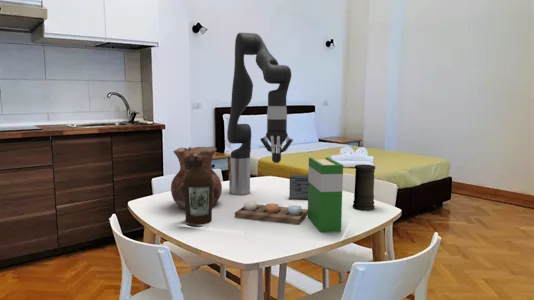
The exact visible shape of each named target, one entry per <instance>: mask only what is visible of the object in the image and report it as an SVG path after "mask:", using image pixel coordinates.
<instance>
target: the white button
mask: <svg viewBox="0 0 534 300" xmlns="http://www.w3.org/2000/svg"><path fill="white" fill-rule="evenodd" d="M243 207H244V210H246V211H255V210H257V202H256V201H253V200H251V201H244V202H243Z"/></svg>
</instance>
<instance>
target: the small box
mask: <svg viewBox="0 0 534 300" xmlns="http://www.w3.org/2000/svg"><path fill="white" fill-rule="evenodd" d="M288 200H295V201H296V200H301V201H308V174H306V175H305V174H290V175H289V198H288Z"/></svg>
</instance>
